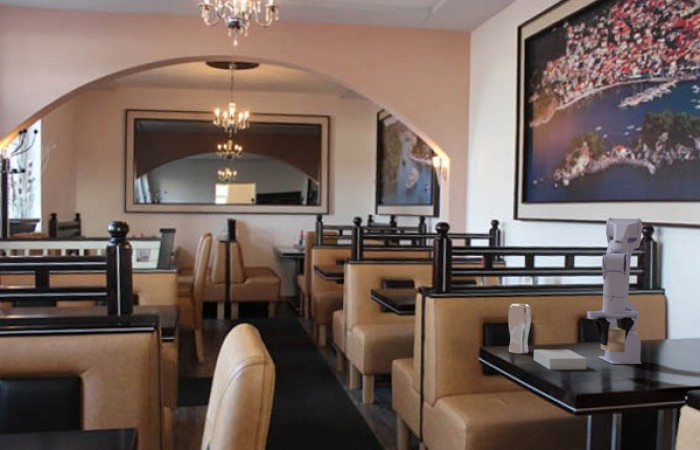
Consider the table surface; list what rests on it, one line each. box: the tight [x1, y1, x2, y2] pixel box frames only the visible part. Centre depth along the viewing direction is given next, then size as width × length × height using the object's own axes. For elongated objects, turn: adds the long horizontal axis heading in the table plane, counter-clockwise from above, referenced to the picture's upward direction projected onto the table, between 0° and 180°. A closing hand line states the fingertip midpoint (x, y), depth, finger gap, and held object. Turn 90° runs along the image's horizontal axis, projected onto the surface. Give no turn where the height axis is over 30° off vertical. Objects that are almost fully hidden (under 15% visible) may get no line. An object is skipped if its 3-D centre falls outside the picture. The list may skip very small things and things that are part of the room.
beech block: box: [600, 327, 625, 352], centre depth 169 cm, size 4×4×6 cm
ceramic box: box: [533, 349, 588, 370], centre depth 179 cm, size 11×11×4 cm
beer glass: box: [507, 302, 532, 355], centre depth 194 cm, size 7×7×15 cm
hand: (612, 344), depth 169 cm, fingers closed on beech block, 4 cm apart
